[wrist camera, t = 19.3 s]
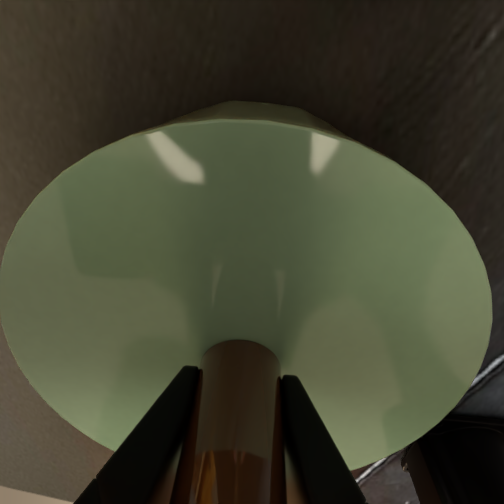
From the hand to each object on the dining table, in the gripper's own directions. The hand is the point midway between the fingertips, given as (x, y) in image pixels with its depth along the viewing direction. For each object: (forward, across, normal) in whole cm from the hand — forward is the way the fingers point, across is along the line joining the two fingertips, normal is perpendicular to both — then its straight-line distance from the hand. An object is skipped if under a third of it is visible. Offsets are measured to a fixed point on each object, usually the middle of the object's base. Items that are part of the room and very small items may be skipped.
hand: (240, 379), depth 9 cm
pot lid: (+1, 0, 0) cm, 1 cm away
